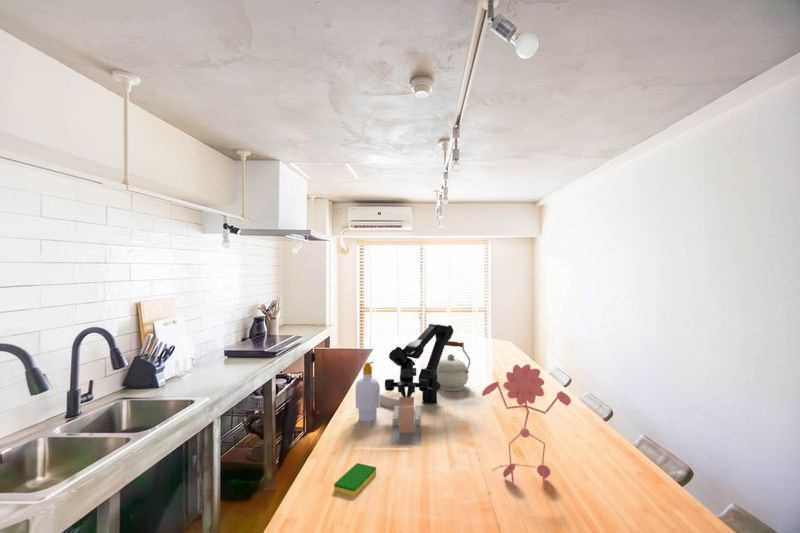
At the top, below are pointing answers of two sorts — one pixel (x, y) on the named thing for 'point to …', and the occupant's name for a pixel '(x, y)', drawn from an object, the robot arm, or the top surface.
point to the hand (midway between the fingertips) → (406, 403)
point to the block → (406, 414)
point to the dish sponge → (355, 479)
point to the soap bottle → (367, 395)
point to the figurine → (525, 388)
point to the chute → (406, 437)
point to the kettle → (452, 371)
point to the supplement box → (390, 399)
